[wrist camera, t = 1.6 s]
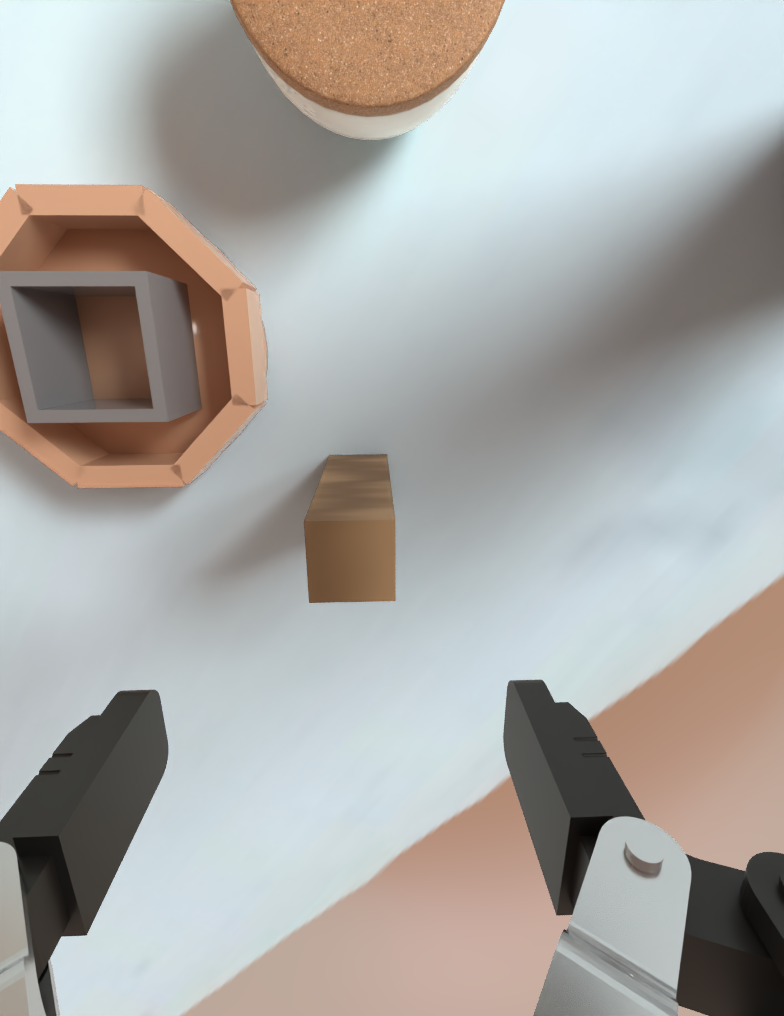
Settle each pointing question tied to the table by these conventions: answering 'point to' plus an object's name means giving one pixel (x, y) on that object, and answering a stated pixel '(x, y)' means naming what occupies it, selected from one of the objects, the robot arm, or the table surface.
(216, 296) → the candle pot
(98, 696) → the table surface
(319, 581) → the brown long rectangular block
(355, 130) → the lidded jar
